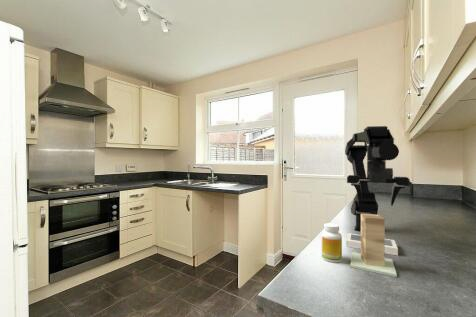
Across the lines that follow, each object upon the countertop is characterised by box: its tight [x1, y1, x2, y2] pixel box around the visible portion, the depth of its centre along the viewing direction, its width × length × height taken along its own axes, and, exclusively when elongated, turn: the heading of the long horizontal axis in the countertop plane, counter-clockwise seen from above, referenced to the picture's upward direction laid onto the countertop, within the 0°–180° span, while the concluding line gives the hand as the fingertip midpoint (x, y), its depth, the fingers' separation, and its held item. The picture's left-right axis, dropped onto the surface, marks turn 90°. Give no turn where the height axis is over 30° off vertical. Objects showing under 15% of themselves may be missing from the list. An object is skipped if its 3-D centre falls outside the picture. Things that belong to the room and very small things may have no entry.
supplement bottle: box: [321, 222, 343, 263], centre depth 64 cm, size 5×5×10 cm
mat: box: [350, 251, 398, 278], centre depth 61 cm, size 10×10×1 cm
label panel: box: [345, 232, 399, 256], centre depth 74 cm, size 9×14×2 cm, turn 61°
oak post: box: [360, 214, 386, 267], centre depth 61 cm, size 4×4×12 cm
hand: (376, 204), depth 80 cm, fingers open, 9 cm apart
